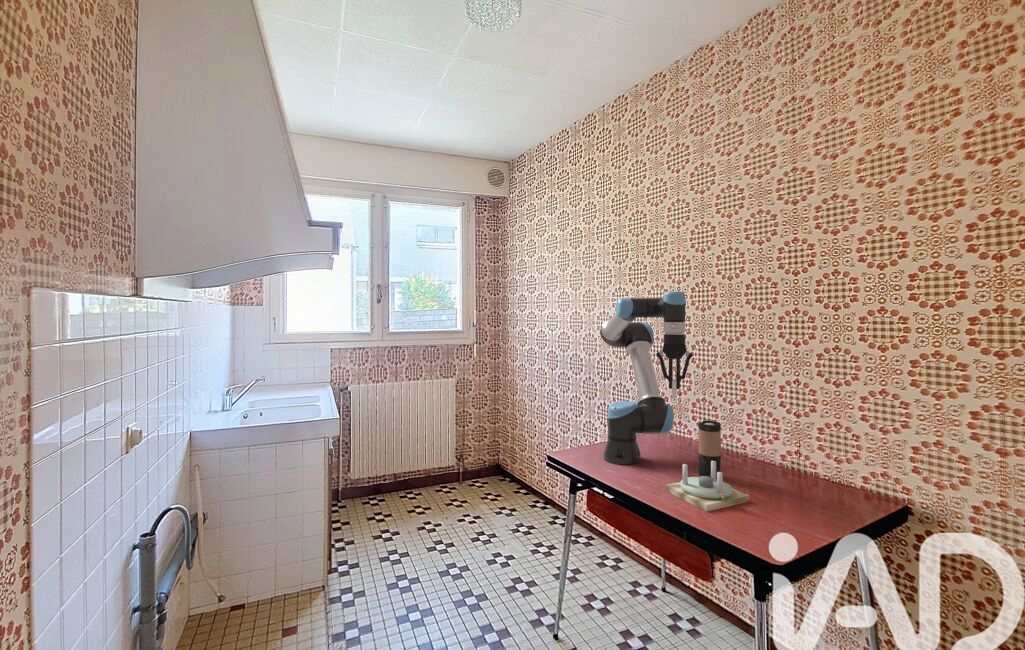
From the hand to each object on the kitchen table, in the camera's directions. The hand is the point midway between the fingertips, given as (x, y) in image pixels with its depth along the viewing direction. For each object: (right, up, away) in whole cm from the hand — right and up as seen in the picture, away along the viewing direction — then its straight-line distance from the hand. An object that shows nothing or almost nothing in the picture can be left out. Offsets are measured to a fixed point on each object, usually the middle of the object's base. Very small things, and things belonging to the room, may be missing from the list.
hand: (674, 397), depth 169 cm
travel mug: (+13, -30, +1) cm, 32 cm away
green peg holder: (+4, -28, -17) cm, 33 cm away
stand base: (+4, -30, -17) cm, 35 cm away
